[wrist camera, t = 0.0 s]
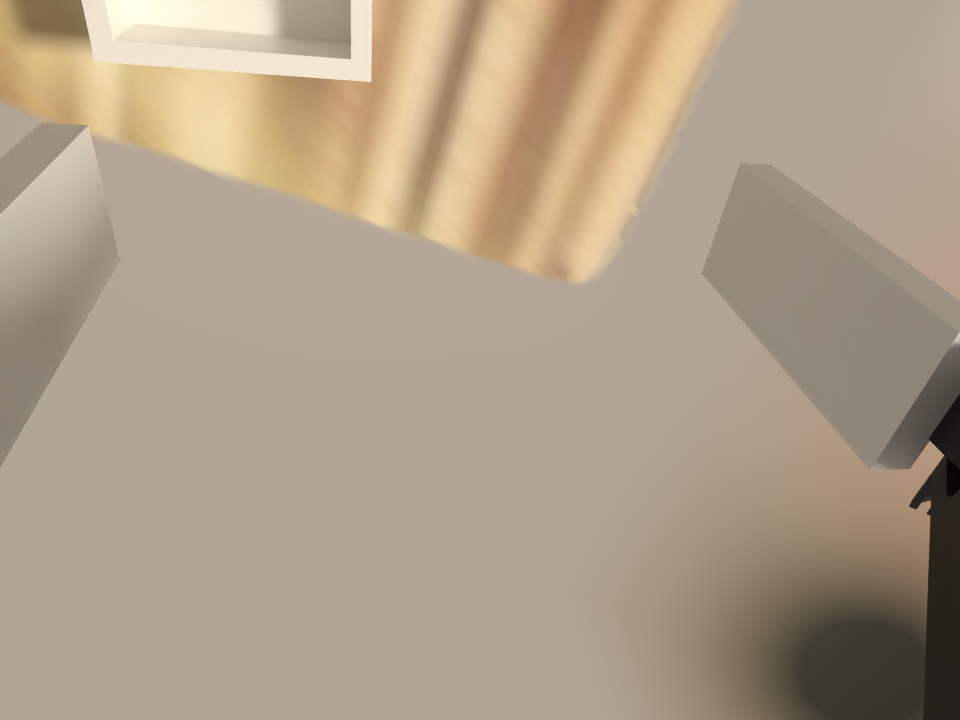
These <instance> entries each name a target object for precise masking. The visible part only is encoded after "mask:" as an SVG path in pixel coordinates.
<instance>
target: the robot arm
mask: <svg viewBox="0 0 960 720" xmlns="http://www.w3.org/2000/svg"><path fill="white" fill-rule="evenodd" d="M119 261H120V258H119V254H118V249H117V245H116V241H115V238H114V233H113V228H112V224H111V220H110V216H109V211H108V207H107V203H106V199H105V195H104V190H103V186H102V182H101V177H100V173H99V169H98V165H97V160H96V156H95V152H94V148H93V143H92V139H91V135H90V131H89V126H86V125H69V124H52V123H41V124H40V125H39V126H38V127H37V128H35V129H34V130H33V131H32V132H31V133H29V134H28V135H27V136H26V137H25V138H24V139H22V140H21V141H20V142H19V143H18V144H16V145H15V146H14V147H13V148H12V149H11V150H9V151H8V152H7V153H6V154H5V155H4V156H2V157H1V158H0V467H1V465H2V464H3V462H4V460H5V458H6V456H7V455H8V453H9V451H10V450H11V448H12V446H13V444H14V443H15V441H16V439H17V438H18V436H19V434H20V432H21V431H22V429H23V427H24V425H25V424H26V422H27V420H28V419H29V417H30V415H31V413H32V412H33V410H34V408H35V406H36V405H37V403H38V401H39V399H40V398H41V396H42V394H43V392H44V391H45V389H46V387H47V385H48V384H49V382H50V381H51V379H52V377H53V375H54V373H55V372H56V370H57V368H58V367H59V365H60V363H61V361H62V360H63V358H64V356H65V354H66V353H67V351H68V349H69V348H70V346H71V344H72V342H73V341H74V339H75V337H76V336H77V334H78V332H79V330H80V328H81V327H82V325H83V323H84V322H85V320H86V318H87V316H88V314H89V313H90V311H91V310H92V308H93V306H94V304H95V302H96V301H97V299H98V297H99V296H100V294H101V292H102V291H103V289H104V287H105V285H106V284H107V282H108V280H109V278H110V277H111V275H112V273H113V272H114V270H115V268H116V266H117V265H118V263H119ZM702 274H703V275H704V276H705V277H706V279H707V280H708V281H709V282H710V283H711V284H712V286H713V287H714V288H715V289H716V290H717V291H718V293H719V294H720V295H721V296H722V297H723V298H724V300H725V301H726V302H727V303H728V304H729V306H730V307H731V308H732V309H733V310H734V311H735V313H736V314H737V315H738V316H739V317H740V318H741V320H742V321H743V322H744V323H745V324H746V326H747V327H748V328H749V329H750V330H751V331H752V333H753V334H754V335H755V336H756V337H757V338H758V339H759V341H760V342H761V343H762V344H763V345H764V347H765V348H766V349H767V350H768V351H769V352H770V354H771V355H772V356H773V357H774V358H775V360H776V361H777V362H778V363H779V364H780V365H781V366H782V368H783V369H784V370H785V371H786V372H787V374H788V375H789V376H790V377H791V378H792V379H793V380H794V382H795V383H796V384H797V385H798V386H799V388H800V389H801V390H802V391H803V392H804V393H805V395H806V396H807V397H808V398H809V399H810V401H811V402H812V403H813V404H814V405H815V406H816V408H817V409H818V410H819V411H820V412H821V413H822V415H823V416H824V417H825V418H826V419H827V420H828V422H829V423H830V424H831V425H832V426H833V427H834V429H835V430H836V431H837V432H838V433H839V435H840V436H841V437H842V438H843V439H844V440H845V442H846V443H847V444H848V445H849V446H850V447H851V449H852V450H853V451H854V452H855V453H856V454H857V456H858V457H859V458H860V459H861V460H862V461H863V463H864V464H865V465H866V466H867V467H868V469H869V470H892V469H893V470H894V469H910V468H911V467H912V465H913V464H914V462H915V461H916V459H917V458H918V456H919V455H920V454H921V452H922V451H923V449H924V448H925V446H926V445H927V444H928V442H929V441H931V442H932V443H933V444H934V445H935V446H936V447H937V448H938V449H939V450H940V451H941V452H942V453H943V454H944V457H943V458H942V459H941V461H940V462H939V464H938V465H937V466H936V468H935V469H934V470H933V472H932V473H931V475H930V476H929V477H928V479H927V480H926V481H925V483H924V484H923V486H922V487H921V489H920V490H919V491H918V493H917V494H916V495H915V497H914V498H913V500H912V501H911V504H910V505H909V506H910V507H912V508H914V509H917V508H918V506H919V505H920V504H921V502H926V501H931V508H930V509H929V511H928V512H927V514H928V515H930V516H931V517H930V544H929V572H928V600H927V628H926V656H925V684H924V714H923V720H960V300H958V299H957V298H955V297H954V296H953V295H951V294H950V293H948V292H947V291H946V290H944V289H943V288H941V287H940V286H939V285H937V284H936V283H935V282H933V281H932V280H930V279H929V278H928V277H926V276H925V275H923V274H922V273H921V272H919V271H918V270H917V269H915V268H914V267H912V266H911V265H910V264H908V263H907V262H905V261H904V260H903V259H901V258H900V257H898V256H897V255H896V254H894V253H893V252H891V251H890V250H889V249H887V248H886V247H885V246H883V245H882V244H880V243H879V242H877V241H876V240H875V239H874V238H872V237H871V236H869V235H868V234H867V233H865V232H864V231H862V230H861V229H860V228H858V227H857V226H855V225H854V224H853V223H851V222H850V221H849V220H847V219H846V218H844V217H843V216H841V215H840V214H839V213H837V212H836V211H835V210H833V209H832V208H831V207H829V206H828V205H826V204H825V203H823V202H822V201H821V200H819V199H818V198H817V197H815V196H814V195H812V194H811V193H809V192H808V191H807V190H806V189H804V188H803V187H801V186H800V185H799V184H797V183H796V182H795V181H793V180H792V179H790V178H789V177H788V176H786V175H785V174H783V173H782V172H781V171H779V170H778V169H776V168H775V167H773V166H772V165H764V164H747V163H740V165H739V168H738V171H737V174H736V177H735V180H734V182H733V185H732V188H731V191H730V194H729V197H728V200H727V203H726V205H725V208H724V211H723V214H722V217H721V220H720V223H719V226H718V229H717V232H716V234H715V237H714V240H713V243H712V246H711V249H710V252H709V255H708V257H707V260H706V263H705V266H704V269H703V271H702Z"/></svg>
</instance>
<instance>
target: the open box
mask: <svg viewBox="0 0 960 720" xmlns="http://www.w3.org/2000/svg"><path fill="white" fill-rule="evenodd" d="M81 1H82V5H83V10H84V14H85V19H86V24H87V28H88V33H89V37H90V42H91V46H92V51H93V56H94V60H95V62H108V63H122V64H135V65H149V66H162V67H176V68H190V69H203V70H217V71H231V72H244V73H258V74H272V75H285V76H299V77H312V78H326V79H340V80H353V81H367V82H371V40H372V0H81Z"/></svg>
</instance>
